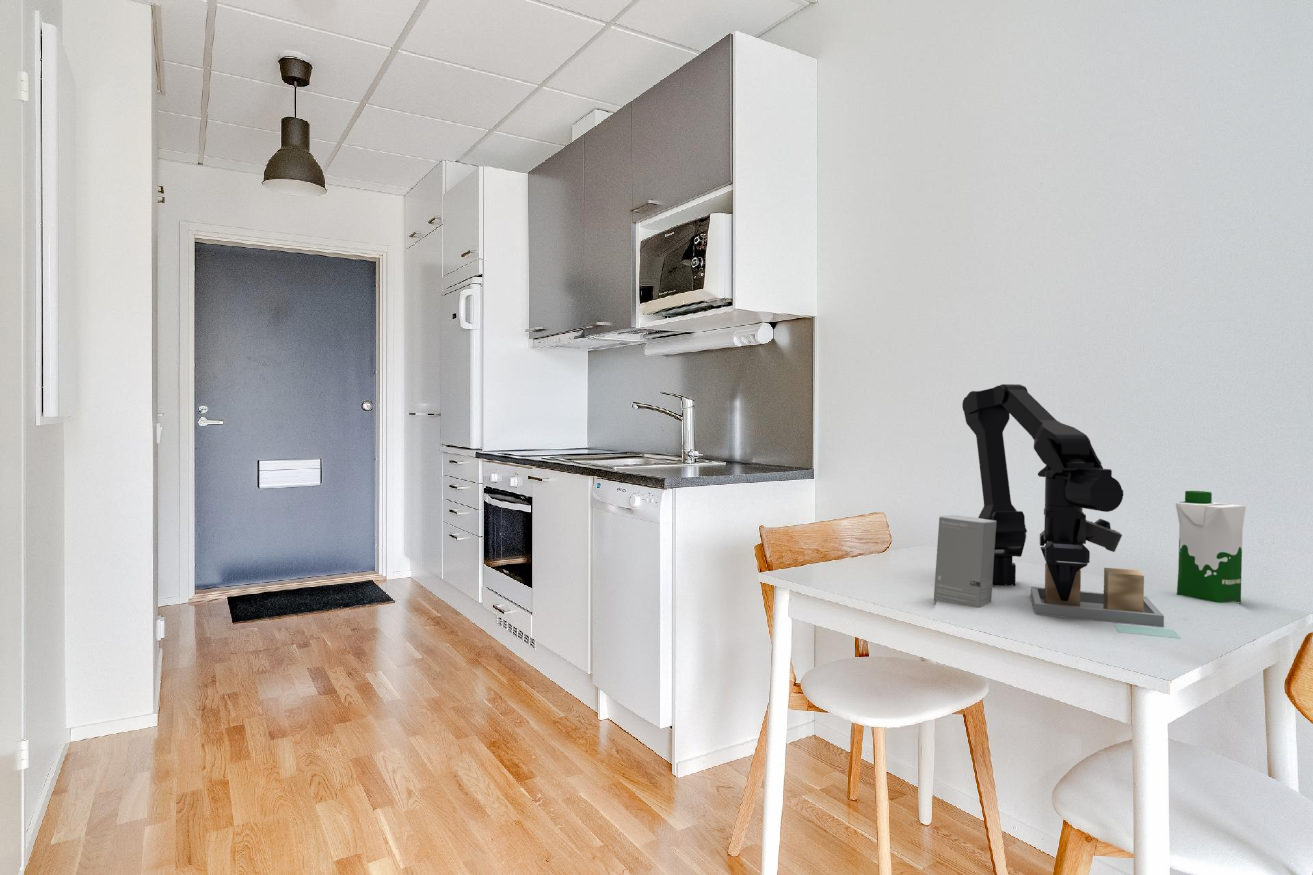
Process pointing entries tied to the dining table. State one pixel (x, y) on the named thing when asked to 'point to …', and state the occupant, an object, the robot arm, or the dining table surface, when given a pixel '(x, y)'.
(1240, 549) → the milk carton
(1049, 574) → the walnut box
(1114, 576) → the oak box
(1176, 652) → the dining table surface
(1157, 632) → the teal pad
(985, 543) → the skincare box
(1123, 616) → the tray
